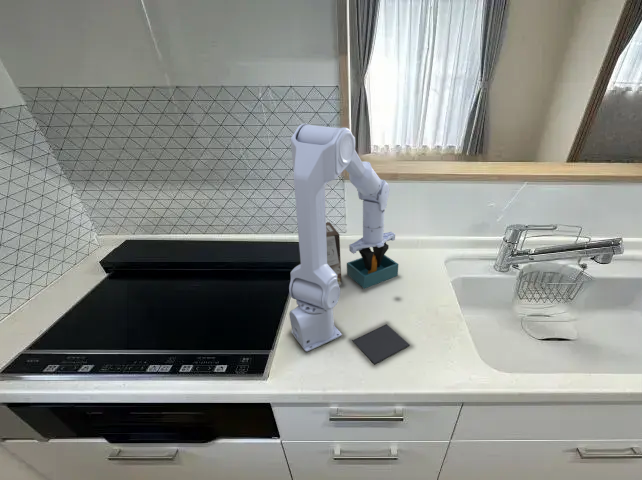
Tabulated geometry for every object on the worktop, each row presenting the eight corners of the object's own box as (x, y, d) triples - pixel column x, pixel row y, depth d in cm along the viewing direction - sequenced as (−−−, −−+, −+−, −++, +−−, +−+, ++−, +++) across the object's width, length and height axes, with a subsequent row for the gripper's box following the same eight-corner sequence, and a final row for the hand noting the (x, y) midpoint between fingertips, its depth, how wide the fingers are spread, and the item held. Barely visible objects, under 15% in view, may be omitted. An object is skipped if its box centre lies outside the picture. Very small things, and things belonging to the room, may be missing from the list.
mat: (374, 364, 69) (374, 363, 69) (351, 340, 75) (351, 339, 74) (409, 345, 74) (409, 344, 73) (385, 324, 79) (385, 323, 79)
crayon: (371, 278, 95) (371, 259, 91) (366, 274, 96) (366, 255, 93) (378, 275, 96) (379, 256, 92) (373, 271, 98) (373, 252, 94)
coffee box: (342, 285, 92) (340, 234, 83) (321, 290, 91) (315, 238, 81) (333, 270, 99) (330, 221, 89) (313, 274, 97) (307, 224, 88)
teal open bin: (364, 290, 91) (364, 276, 88) (347, 275, 97) (346, 262, 94) (397, 277, 96) (398, 264, 94) (379, 264, 102) (379, 251, 100)
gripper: (359, 236, 80) (359, 281, 89) (403, 223, 87) (400, 266, 95) (344, 226, 85) (346, 270, 93) (387, 214, 92) (385, 256, 100)
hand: (372, 267), depth 95 cm, fingers open, 3 cm apart
